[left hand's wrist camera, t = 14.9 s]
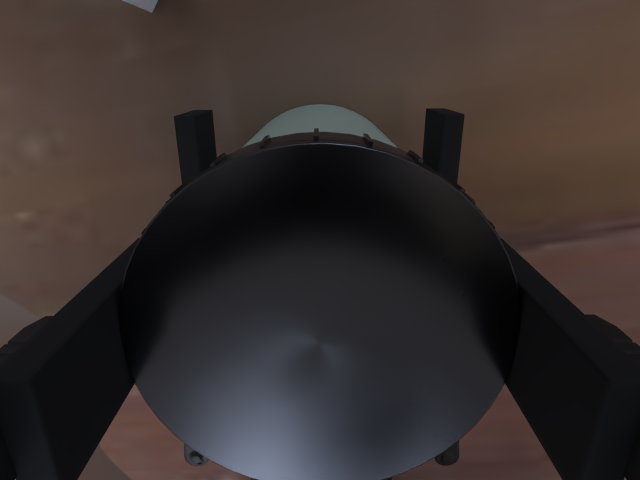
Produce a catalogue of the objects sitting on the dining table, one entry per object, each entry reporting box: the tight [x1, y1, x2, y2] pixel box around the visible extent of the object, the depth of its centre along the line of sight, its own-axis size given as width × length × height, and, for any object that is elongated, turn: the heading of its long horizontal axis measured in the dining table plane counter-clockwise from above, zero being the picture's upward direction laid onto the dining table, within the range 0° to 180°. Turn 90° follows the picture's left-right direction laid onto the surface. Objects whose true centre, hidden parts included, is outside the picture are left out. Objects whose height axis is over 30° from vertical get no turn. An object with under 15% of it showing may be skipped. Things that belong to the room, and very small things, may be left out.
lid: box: [119, 128, 521, 480], centre depth 11 cm, size 10×10×2 cm
